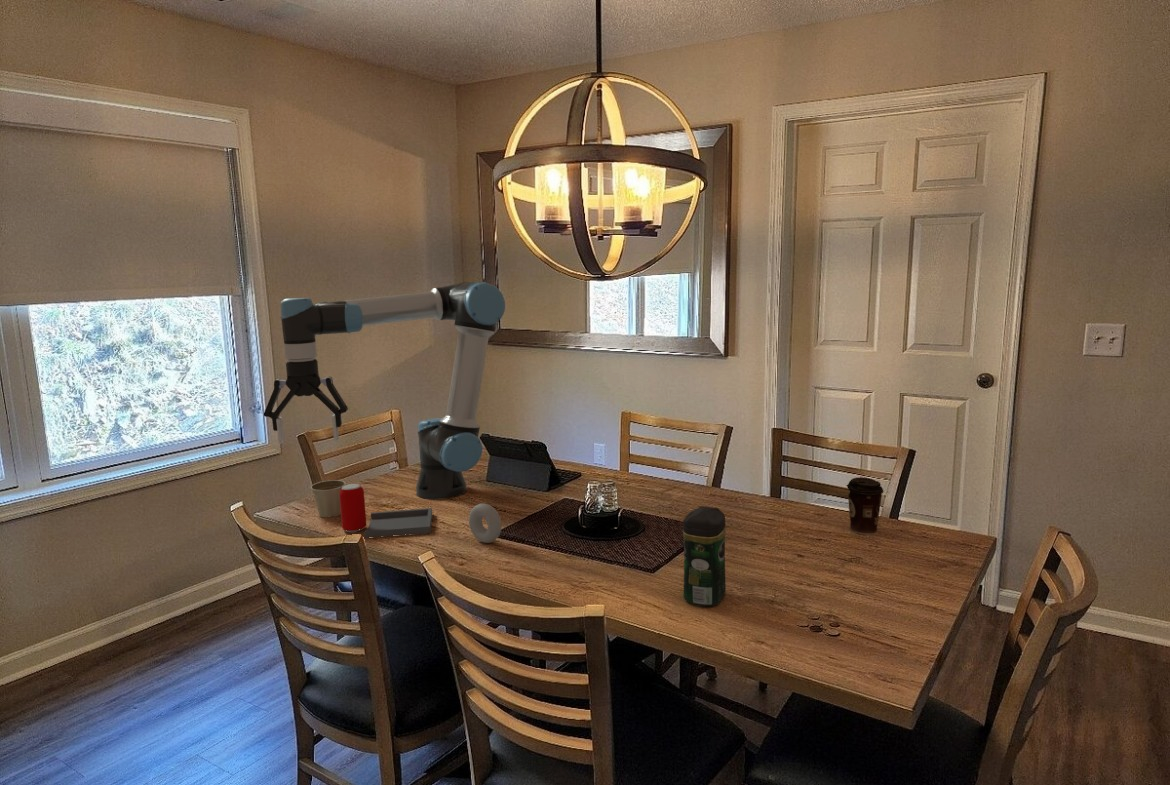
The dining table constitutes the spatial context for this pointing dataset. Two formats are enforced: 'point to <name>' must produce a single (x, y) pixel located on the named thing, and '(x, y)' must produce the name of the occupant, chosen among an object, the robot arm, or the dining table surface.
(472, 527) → the donut
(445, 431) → the robot arm
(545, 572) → the dining table surface
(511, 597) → the dining table surface
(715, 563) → the coffee jar
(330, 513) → the flower pot
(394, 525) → the tray
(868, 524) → the coffee cup
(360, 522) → the beverage can
